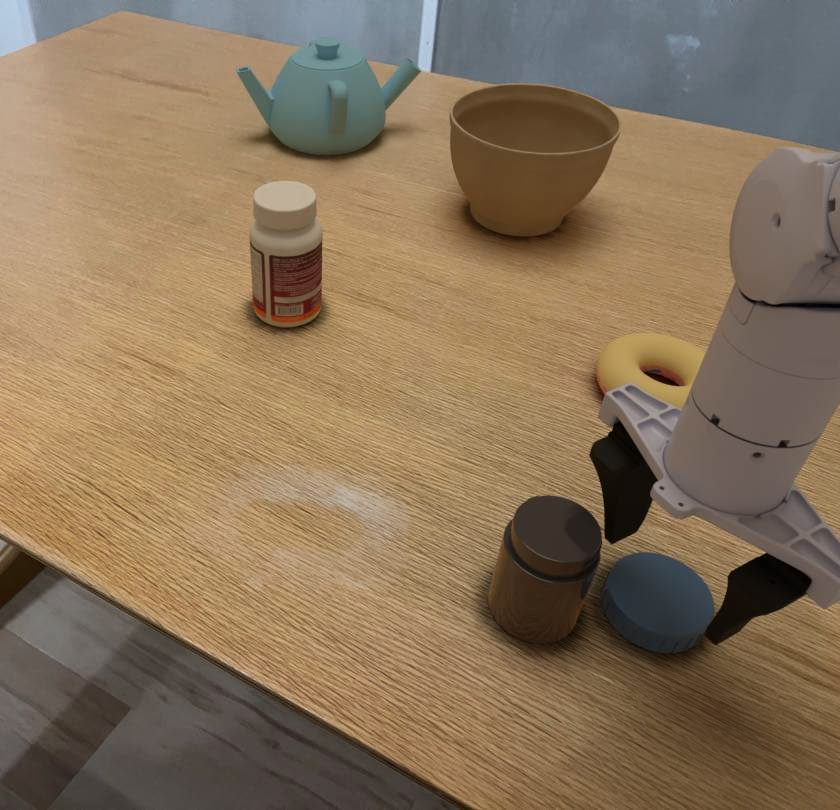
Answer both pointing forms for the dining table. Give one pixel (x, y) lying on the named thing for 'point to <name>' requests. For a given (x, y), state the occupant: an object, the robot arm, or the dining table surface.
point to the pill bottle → (286, 254)
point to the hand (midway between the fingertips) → (668, 581)
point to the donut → (650, 365)
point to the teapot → (327, 98)
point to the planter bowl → (529, 153)
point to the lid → (657, 602)
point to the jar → (544, 569)
